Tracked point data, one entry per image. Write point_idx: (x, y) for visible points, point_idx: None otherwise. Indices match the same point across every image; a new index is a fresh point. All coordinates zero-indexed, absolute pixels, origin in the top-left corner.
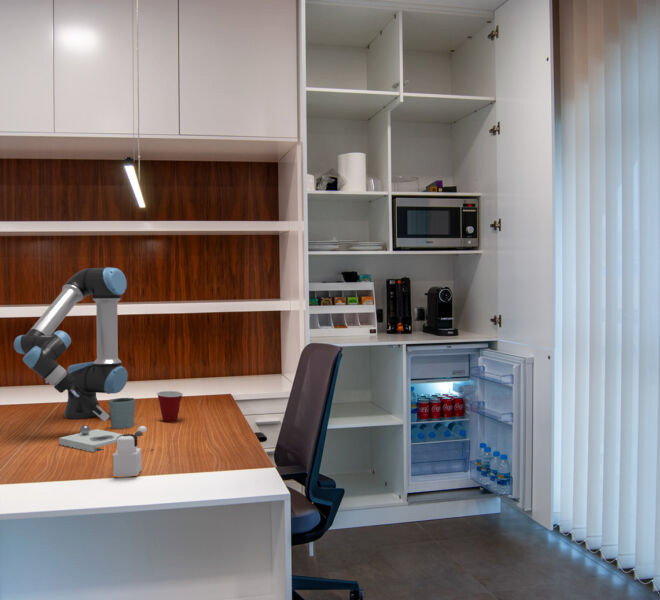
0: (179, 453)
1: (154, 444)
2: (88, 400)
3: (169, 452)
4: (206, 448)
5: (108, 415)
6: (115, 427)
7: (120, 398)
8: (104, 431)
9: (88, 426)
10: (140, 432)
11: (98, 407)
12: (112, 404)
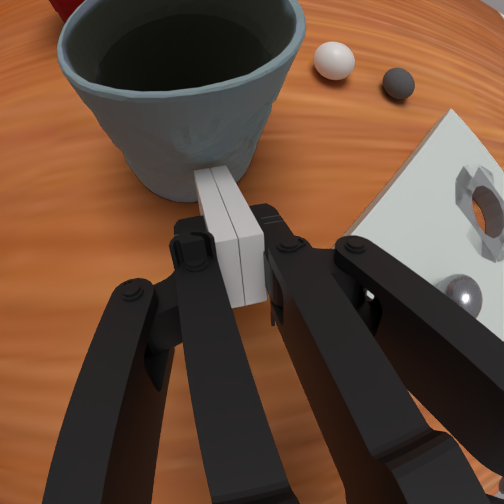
0: (489, 57)
1: (444, 71)
2: (453, 306)
3: (489, 68)
4: (448, 12)
5: (228, 171)
6: (248, 164)
7: (64, 41)
8: (388, 209)
9: (468, 279)
10: (407, 72)
11: (256, 225)
12: (278, 77)
